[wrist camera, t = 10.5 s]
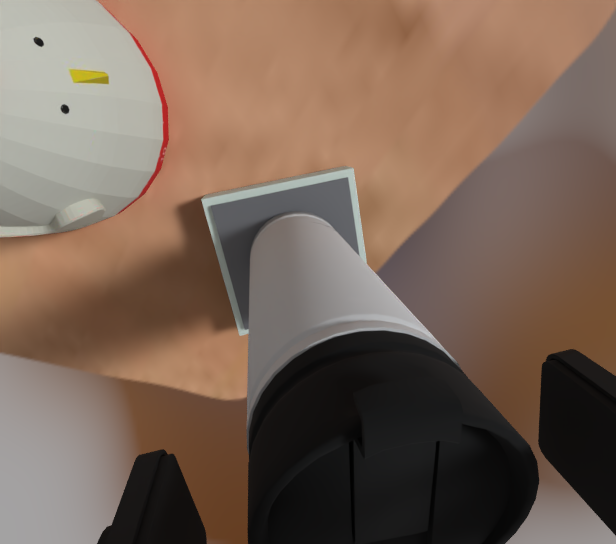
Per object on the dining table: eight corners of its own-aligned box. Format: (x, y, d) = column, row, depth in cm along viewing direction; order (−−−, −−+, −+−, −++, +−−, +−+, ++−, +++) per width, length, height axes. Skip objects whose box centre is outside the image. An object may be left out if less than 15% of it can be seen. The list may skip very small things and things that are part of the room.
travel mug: (339, 200, 25) (592, 378, 6) (343, 293, 27) (539, 624, 9) (243, 209, 24) (216, 435, 6) (255, 303, 27) (263, 686, 8)
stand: (205, 194, 26) (200, 200, 24) (345, 165, 27) (354, 168, 25) (240, 322, 30) (239, 337, 27) (364, 293, 30) (373, 306, 28)
